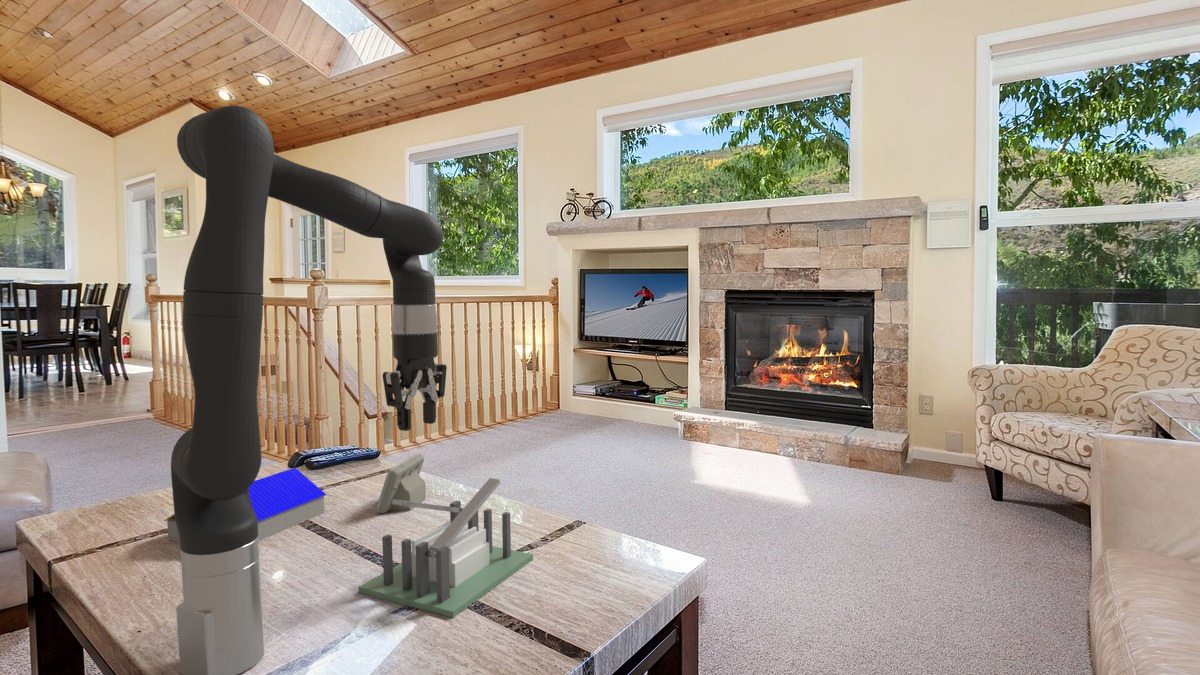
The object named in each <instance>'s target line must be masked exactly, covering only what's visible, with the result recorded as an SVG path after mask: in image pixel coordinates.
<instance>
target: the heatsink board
mask: <svg viewBox="0 0 1200 675" xmlns="http://www.w3.org/2000/svg"><path fill="white" fill-rule="evenodd" d="M461 503H462V502H461V500H454V501H453V502H451V503H450V502H449V507H457V508H462V506H461V505H462V504H461ZM449 513H450V514H449V516H450V521H447V522H445V523H443V524H442V525H439V526H437V527H435V528H433V529H432V530H429V531H427V532H426V533H424V534H422V536H421V535H420V536H417V537H416V538H413V539H410V538H405V539H403V540H401V541H400V542H401V562H400V563H399V564H397V565H395V566H394V564H393V563H394V560H393V558H394V557H393V535H391V534H386V535H384V536H382V539H381V541H382V567H383V568H382V569H383V570H382V572H383V573H381V574H378V575H377V576H376V577H373V578H371V579H370V580H368V581H366V582H365V583H362V584H361V585H359V586H358V590H357V591H358V593H360V594H362V595H367V596H370V597H373V598H378V599H381V600H386V601H388V602H393V603H397V604H400V605H403V606H408V607H411V608H415V609H418V610H422V611H427V612H430V613H433V614H438V615H442V616H445V617H449V618H452V619H454V618H455V617H457V616H458V615H459V614H461V613H462V612H464V611H465V610H466V609H468V608H469V607H470V606H471V604H472V603H473V604H474V603H475V601H476V602H477V601H478V600H480V599H481V598H482V597H484V596H485V595H487V594H488V593H490V590H491V589H492V590H493V589H495V588H496V587H498V586H499V585H500V584H501V583H503V582H504V581H506V580H507V579H508V578H510V577H512V576H513V574H515V573H517V571H519V570H520V569H523V567H525V566H526V565H527V564H529V563H530V562H531V561H533V560H534V554H533V553H529V552H524V551H520V550H519V551H518V550H514V549H512V548H511V547H512V546H511V545H512V544H511V542H512V541H511V537H512V536H511V535H512V534H511V512H509V511H505V512H503V513H502V514H501V522H502V523H501V524H502V526H501V528H502V530H501V531H502V533H501V534H502V547H499V546H498V547H497V546H494V545H493V519H492V518H493V515H492V514H493V511H492V509H491V508H486V509H484V510H483V528H482V529H479V528H480V527H479V510H478V511H477V512H476V513H475V514H474V515H473V517H472V518H471V519H470V520H469V521H468V523H467V524H466V525H465V526H464V527H463V529H462V530H461V531H460V532H459V533H458V535H457V536H456V537H455V538H454V539H453V541H452V542H451V543H450V544H449V545H448V546H442V547H441V548H439V549H437V550H436V558H432V557H427V556H425V552H426V551H428V550H429V548H430V547H431V546H432V544H433V543H434V542H435V541H436V540H437V539H438V537H439V536H440V535H441V534H442V533H443V532H444V530H445V529H446V528H447V527H448V526H449V525H450V524H451V522H452V521H453V520H454V519H455V518H456V517H457V515H458V514H459V513H458V512H449ZM506 578H507V579H506ZM505 579H506V580H505ZM494 587H495V588H494ZM492 590H491V591H492ZM487 592H488V593H487ZM486 593H487V594H486ZM484 594H485V595H484ZM483 595H484V596H483ZM480 597H481V598H480ZM479 598H480V599H479ZM473 604H472V605H473ZM468 606H469V607H468ZM464 609H465V610H464ZM461 611H462V612H461ZM460 612H461V613H460ZM457 614H458V615H457ZM456 615H457V616H456Z"/></svg>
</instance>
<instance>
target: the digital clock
mask: <svg viewBox="0 0 1200 675" xmlns="http://www.w3.org/2000/svg"><path fill="white" fill-rule="evenodd" d="M424 462H425V457H424V454H422V453H416V454H413V455H411V456H409V457H408V458H406V459H404V460H403V461H402V462H400V463H398V464H396V465H395V466H393V467H391V468H390V469H388V472H387V474H386V475H385V476H386V477H385V479H384V482H383V486H382V489H381V491H380V496H379V498H378V500H377V501H378V502H377V504H376V511H377V512H378V513H379V514H384V513H385V514H386V513H387V512H389V511H406V512H409V511H411V510H413V509H414V508H415V507H408V506H400V505H395V504H392V501H393V499H396V500H403V501H411V502H419V503H423V501H424V500H425V499H426V498H427V494H426V481H425V480H424V479H423V478H421V476H420V474H421V470H422V468H423V465H424V464H423V463H424Z"/></svg>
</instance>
